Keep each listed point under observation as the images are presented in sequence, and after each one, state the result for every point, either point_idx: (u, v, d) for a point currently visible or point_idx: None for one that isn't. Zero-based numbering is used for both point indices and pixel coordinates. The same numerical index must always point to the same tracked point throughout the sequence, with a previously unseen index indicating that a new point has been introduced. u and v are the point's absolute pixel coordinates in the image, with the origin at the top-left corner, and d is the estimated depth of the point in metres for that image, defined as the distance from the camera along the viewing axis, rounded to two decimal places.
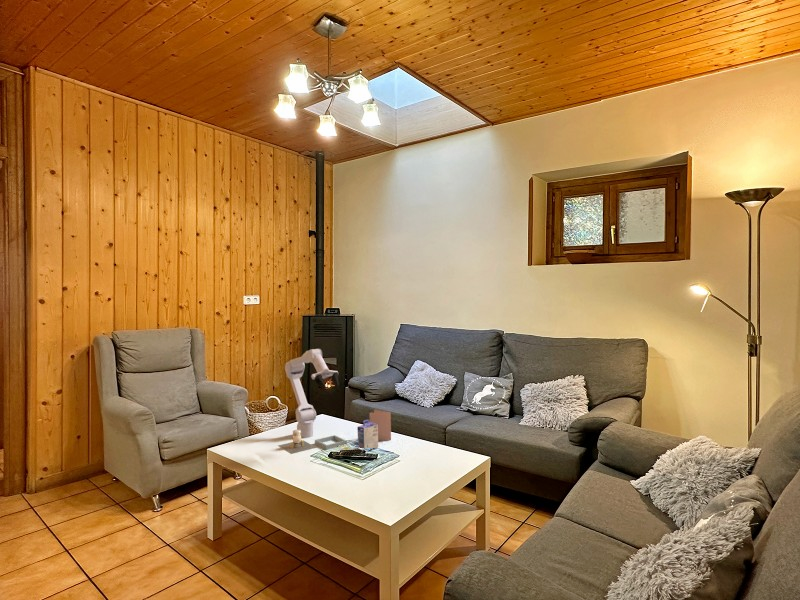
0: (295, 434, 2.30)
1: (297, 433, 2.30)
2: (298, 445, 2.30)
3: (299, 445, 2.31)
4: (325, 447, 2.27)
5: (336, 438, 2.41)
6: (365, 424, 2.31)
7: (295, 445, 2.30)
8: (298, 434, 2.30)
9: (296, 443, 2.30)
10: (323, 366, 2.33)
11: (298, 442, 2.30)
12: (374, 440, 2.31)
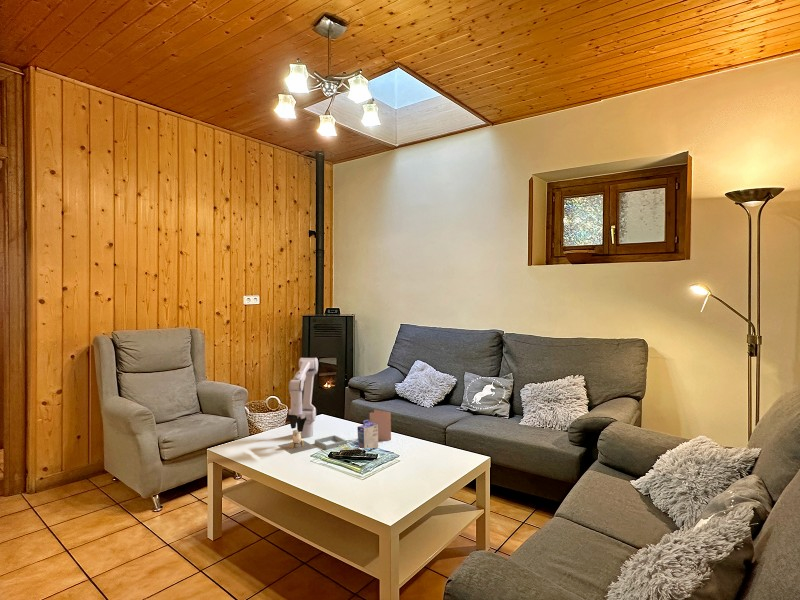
0: (295, 434, 2.30)
1: (297, 433, 2.30)
2: (298, 445, 2.30)
3: (299, 445, 2.31)
4: (325, 447, 2.27)
5: (336, 438, 2.41)
6: (365, 424, 2.31)
7: (295, 445, 2.30)
8: (298, 434, 2.30)
9: (296, 443, 2.30)
10: (291, 407, 2.30)
11: (298, 442, 2.30)
12: (374, 440, 2.31)
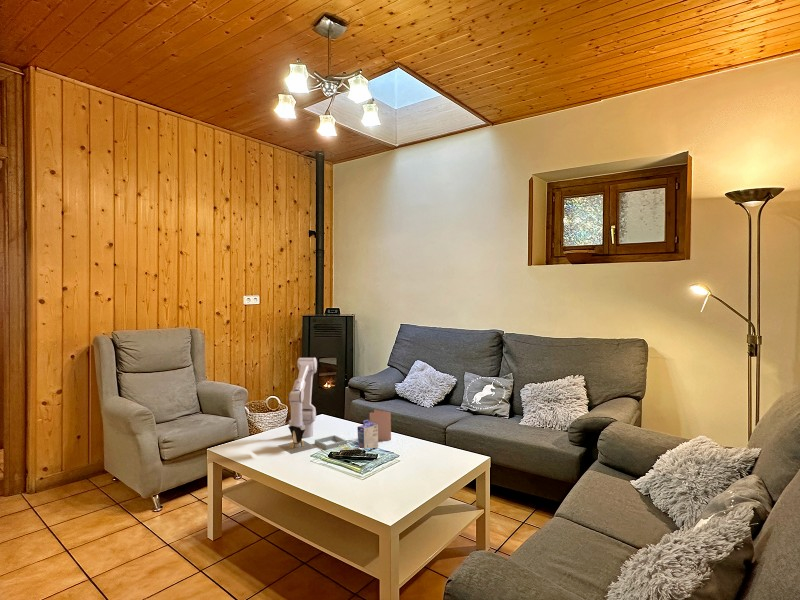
0: (295, 434, 2.30)
1: None
2: (298, 445, 2.30)
3: (299, 445, 2.31)
4: (325, 447, 2.27)
5: (336, 438, 2.41)
6: (365, 424, 2.31)
7: (295, 445, 2.30)
8: None
9: (296, 443, 2.30)
10: (291, 418, 2.30)
11: (298, 442, 2.30)
12: (374, 440, 2.31)
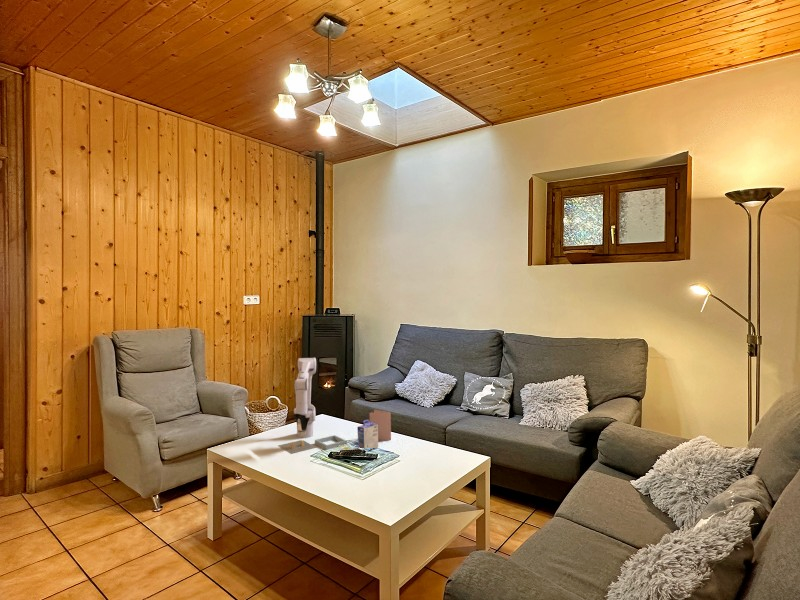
0: None
1: None
2: (303, 433, 2.31)
3: (304, 433, 2.31)
4: (325, 447, 2.27)
5: (336, 438, 2.41)
6: (365, 424, 2.31)
7: (300, 433, 2.30)
8: None
9: (301, 431, 2.30)
10: (296, 406, 2.31)
11: (303, 430, 2.31)
12: (374, 440, 2.31)
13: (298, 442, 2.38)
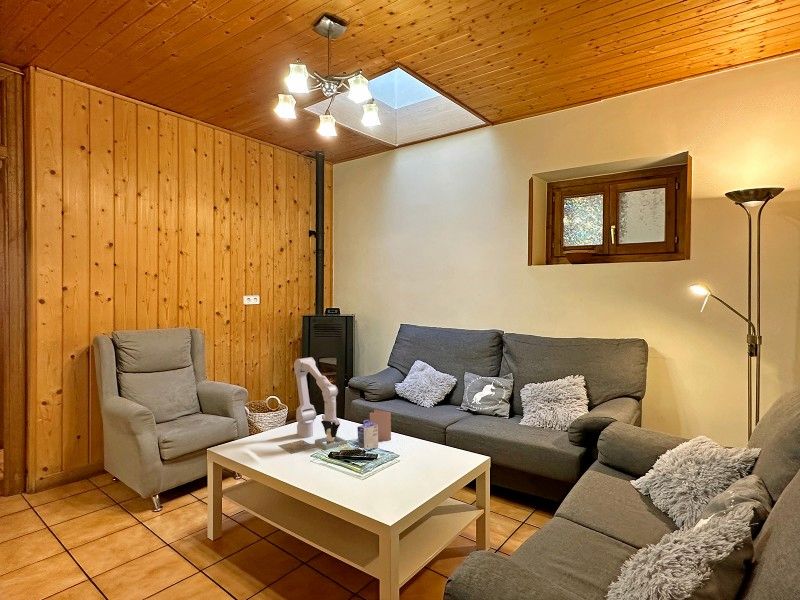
0: (329, 432, 2.33)
1: None
2: None
3: None
4: (325, 447, 2.27)
5: (336, 438, 2.41)
6: (365, 424, 2.31)
7: (328, 444, 2.33)
8: None
9: (329, 442, 2.33)
10: (325, 413, 2.33)
11: (332, 441, 2.33)
12: (374, 440, 2.31)
13: (298, 442, 2.38)
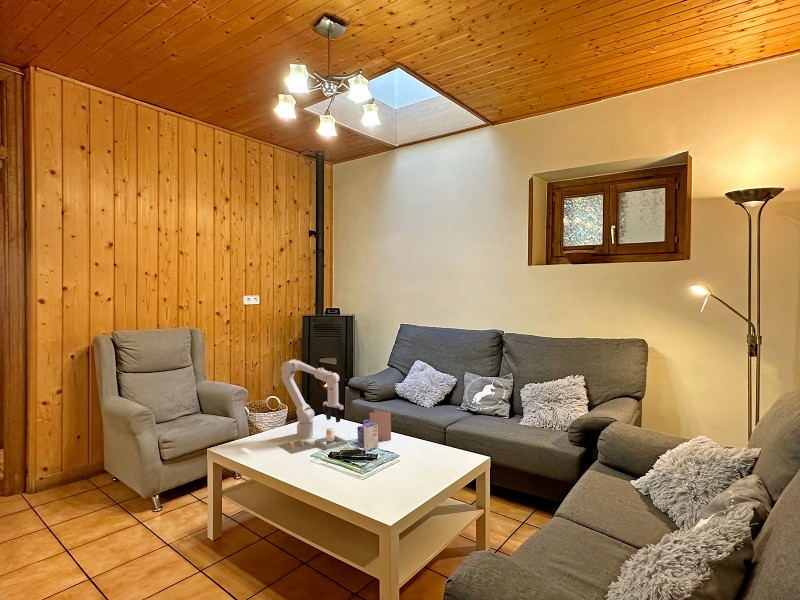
0: (329, 432, 2.33)
1: (330, 432, 2.33)
2: None
3: None
4: (325, 447, 2.27)
5: (336, 438, 2.41)
6: (365, 424, 2.31)
7: (328, 444, 2.33)
8: (331, 433, 2.33)
9: (329, 442, 2.33)
10: (328, 400, 2.44)
11: (332, 441, 2.33)
12: (374, 440, 2.31)
13: (298, 442, 2.38)
